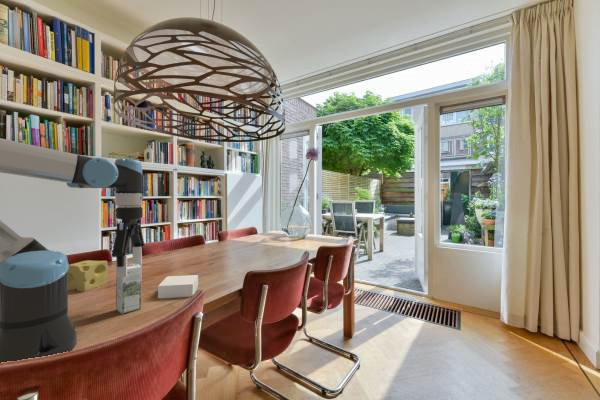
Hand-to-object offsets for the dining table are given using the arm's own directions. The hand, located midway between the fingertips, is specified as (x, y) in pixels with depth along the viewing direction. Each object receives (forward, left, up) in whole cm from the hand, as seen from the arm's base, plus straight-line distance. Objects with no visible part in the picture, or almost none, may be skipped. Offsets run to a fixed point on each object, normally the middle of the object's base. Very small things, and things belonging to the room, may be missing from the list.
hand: (130, 270), depth 89 cm
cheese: (+28, +25, -13) cm, 40 cm away
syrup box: (0, 0, -13) cm, 13 cm away
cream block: (+14, -13, -13) cm, 23 cm away
